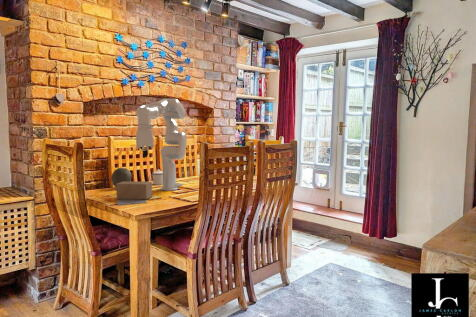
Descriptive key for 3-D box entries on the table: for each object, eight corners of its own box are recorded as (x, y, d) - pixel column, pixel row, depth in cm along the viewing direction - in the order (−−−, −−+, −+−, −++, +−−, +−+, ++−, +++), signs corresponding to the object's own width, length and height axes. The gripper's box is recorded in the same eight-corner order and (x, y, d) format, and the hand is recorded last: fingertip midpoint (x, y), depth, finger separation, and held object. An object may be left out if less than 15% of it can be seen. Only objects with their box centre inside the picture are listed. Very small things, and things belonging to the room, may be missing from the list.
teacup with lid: (165, 182, 287) (164, 168, 286) (163, 184, 278) (163, 170, 277) (149, 183, 286) (149, 168, 285) (148, 185, 277) (147, 170, 276)
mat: (143, 198, 231) (143, 197, 231) (147, 202, 218) (147, 202, 218) (116, 200, 224) (116, 199, 224) (117, 205, 211) (117, 204, 211)
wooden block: (146, 184, 223) (115, 183, 226) (146, 199, 224) (116, 199, 227) (151, 181, 233) (123, 181, 236) (152, 196, 234) (123, 196, 237)
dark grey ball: (121, 190, 256) (120, 169, 254) (107, 188, 262) (106, 168, 261) (135, 187, 268) (135, 167, 267) (122, 185, 275) (121, 166, 273)
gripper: (155, 127, 226) (156, 155, 228) (131, 127, 220) (132, 156, 223) (157, 127, 219) (158, 157, 221) (132, 127, 213) (133, 158, 216)
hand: (145, 156), depth 222 cm, fingers closed
